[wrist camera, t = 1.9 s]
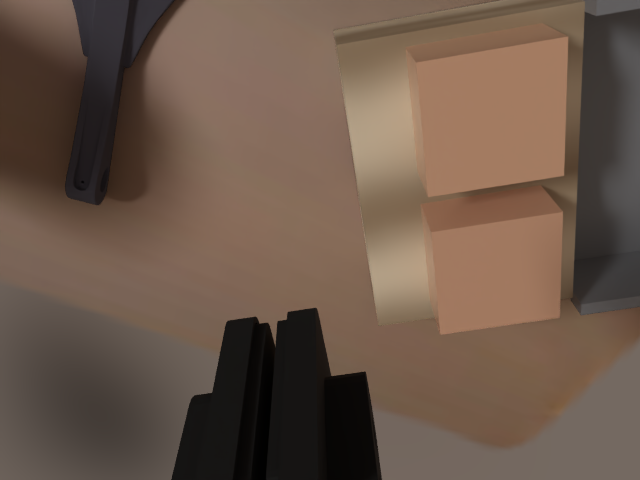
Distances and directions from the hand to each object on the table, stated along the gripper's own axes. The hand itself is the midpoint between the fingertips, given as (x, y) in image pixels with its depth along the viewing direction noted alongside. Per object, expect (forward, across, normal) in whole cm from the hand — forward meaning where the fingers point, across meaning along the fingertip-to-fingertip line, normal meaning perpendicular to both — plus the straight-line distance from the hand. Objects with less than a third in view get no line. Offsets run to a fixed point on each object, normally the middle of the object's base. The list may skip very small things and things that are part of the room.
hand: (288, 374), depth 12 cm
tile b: (+14, -7, +6) cm, 17 cm away
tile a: (+14, -7, 0) cm, 16 cm away
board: (+17, -6, +3) cm, 19 cm away
